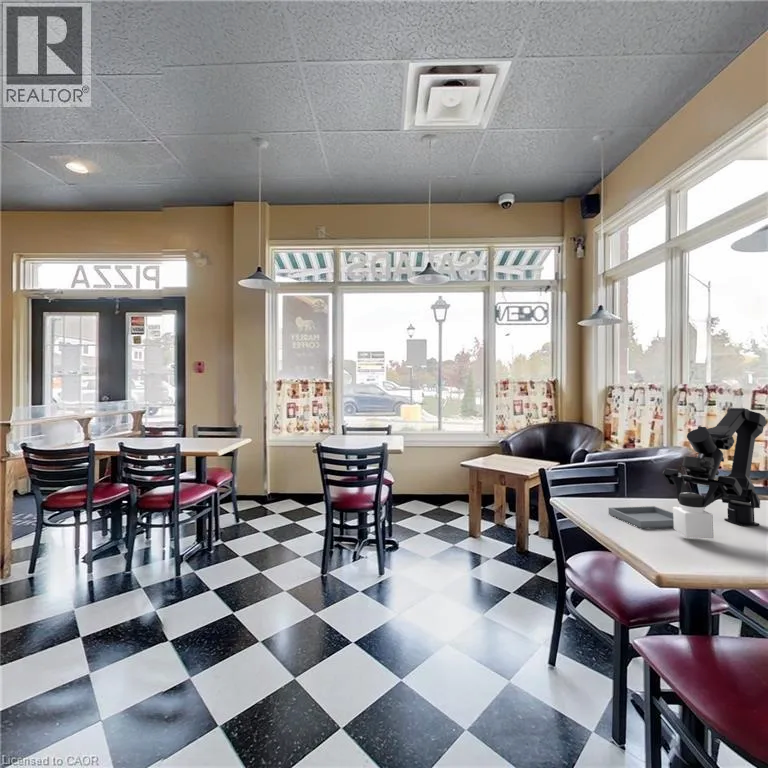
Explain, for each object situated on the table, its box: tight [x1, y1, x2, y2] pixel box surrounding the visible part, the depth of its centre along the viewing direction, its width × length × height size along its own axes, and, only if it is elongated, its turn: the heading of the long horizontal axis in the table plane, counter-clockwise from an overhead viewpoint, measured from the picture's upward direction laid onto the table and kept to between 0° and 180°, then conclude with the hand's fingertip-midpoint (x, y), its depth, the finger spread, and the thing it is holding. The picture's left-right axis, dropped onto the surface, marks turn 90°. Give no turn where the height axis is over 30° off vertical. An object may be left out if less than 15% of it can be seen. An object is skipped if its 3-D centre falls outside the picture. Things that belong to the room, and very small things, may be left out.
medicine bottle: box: [672, 492, 715, 539], centre depth 116 cm, size 7×7×12 cm
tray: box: [608, 505, 674, 529], centre depth 135 cm, size 18×16×2 cm
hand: (690, 503), depth 116 cm, fingers closed on medicine bottle, 6 cm apart
